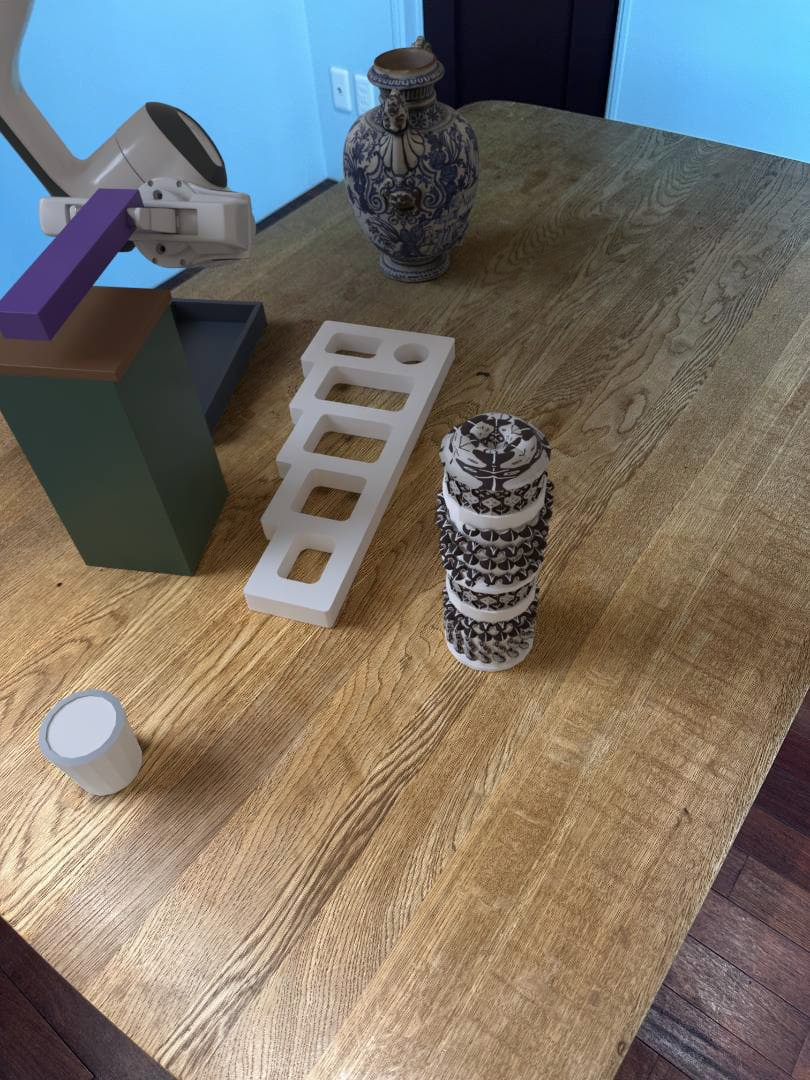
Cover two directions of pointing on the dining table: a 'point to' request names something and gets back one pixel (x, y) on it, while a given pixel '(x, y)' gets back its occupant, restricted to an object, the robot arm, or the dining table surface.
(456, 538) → the decorative candle
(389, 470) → the holder
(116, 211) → the purple bar
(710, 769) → the dining table surface
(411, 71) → the decorative vase
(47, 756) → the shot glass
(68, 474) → the brown-capped green pillar
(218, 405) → the tray
